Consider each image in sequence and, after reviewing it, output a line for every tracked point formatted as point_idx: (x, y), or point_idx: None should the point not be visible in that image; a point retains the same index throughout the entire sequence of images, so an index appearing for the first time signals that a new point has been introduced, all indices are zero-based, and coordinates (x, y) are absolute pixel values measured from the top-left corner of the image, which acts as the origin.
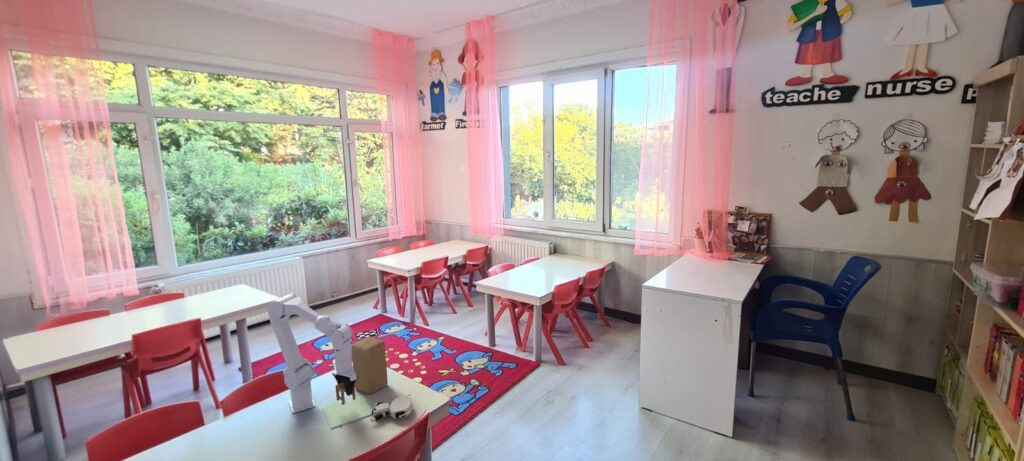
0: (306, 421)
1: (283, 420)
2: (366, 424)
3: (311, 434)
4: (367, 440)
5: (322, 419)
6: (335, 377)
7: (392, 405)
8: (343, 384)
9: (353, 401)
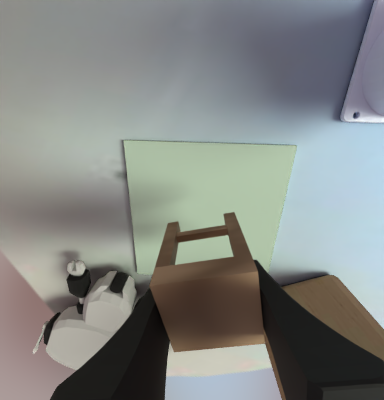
0: (246, 54)
1: None
2: (94, 242)
3: (127, 55)
4: (7, 221)
5: (213, 125)
6: (301, 345)
7: (93, 334)
8: (138, 341)
9: (249, 249)
